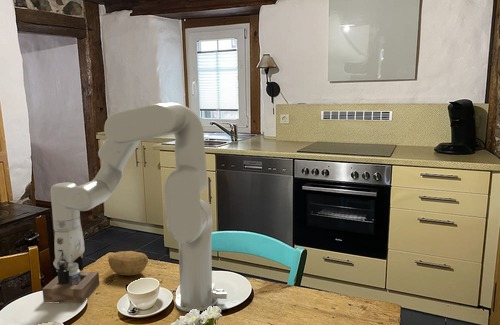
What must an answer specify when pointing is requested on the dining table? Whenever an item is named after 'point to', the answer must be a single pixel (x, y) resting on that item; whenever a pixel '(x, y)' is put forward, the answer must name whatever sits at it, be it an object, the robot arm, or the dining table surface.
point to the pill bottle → (73, 274)
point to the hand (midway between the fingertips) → (71, 276)
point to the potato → (128, 262)
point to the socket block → (71, 289)
